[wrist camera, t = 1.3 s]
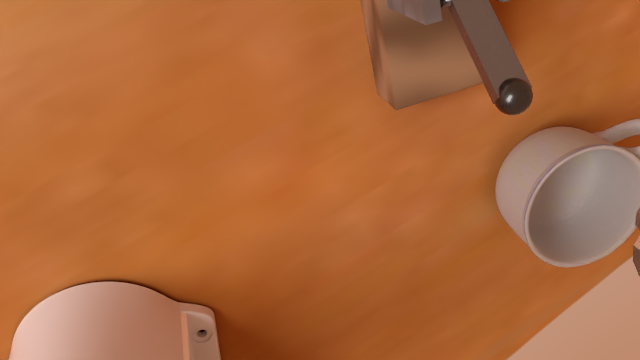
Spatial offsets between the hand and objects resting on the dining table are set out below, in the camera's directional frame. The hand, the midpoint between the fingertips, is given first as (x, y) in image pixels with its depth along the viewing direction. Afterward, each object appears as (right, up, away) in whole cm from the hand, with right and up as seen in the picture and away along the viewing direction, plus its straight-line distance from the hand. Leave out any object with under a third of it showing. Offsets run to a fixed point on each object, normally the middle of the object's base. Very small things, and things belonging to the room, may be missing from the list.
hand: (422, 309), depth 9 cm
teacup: (+19, +4, +41) cm, 45 cm away
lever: (+6, +13, +24) cm, 28 cm away
